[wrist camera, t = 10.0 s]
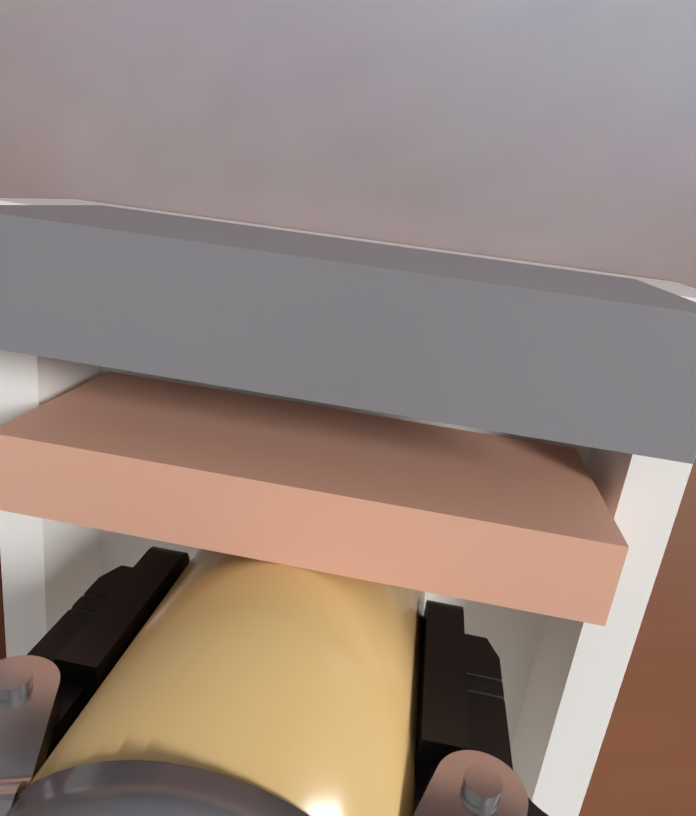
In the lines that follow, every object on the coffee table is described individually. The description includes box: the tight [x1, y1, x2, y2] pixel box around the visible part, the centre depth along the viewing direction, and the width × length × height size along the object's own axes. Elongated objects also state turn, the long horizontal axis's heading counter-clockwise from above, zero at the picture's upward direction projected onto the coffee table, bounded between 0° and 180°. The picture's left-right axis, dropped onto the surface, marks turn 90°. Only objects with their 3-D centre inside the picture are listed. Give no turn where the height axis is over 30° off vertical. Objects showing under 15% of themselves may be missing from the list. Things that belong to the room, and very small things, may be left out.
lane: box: [0, 198, 696, 816], centre depth 14 cm, size 18×13×5 cm
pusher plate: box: [0, 372, 629, 626], centre depth 12 cm, size 1×10×4 cm, turn 83°
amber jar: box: [5, 549, 425, 816], centre depth 11 cm, size 5×5×9 cm
